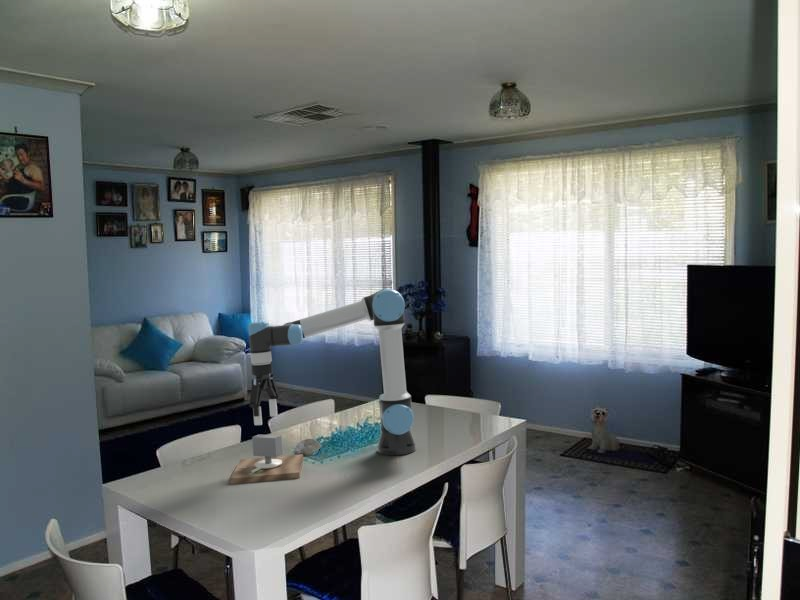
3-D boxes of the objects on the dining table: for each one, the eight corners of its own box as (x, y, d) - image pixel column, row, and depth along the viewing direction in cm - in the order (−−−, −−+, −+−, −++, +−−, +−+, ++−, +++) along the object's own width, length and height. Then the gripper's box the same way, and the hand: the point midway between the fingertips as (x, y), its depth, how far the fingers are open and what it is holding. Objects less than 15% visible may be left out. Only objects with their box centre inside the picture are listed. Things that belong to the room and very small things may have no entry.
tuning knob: (265, 460, 242) (263, 432, 241) (287, 461, 238) (285, 433, 238) (241, 472, 228) (238, 442, 228) (264, 473, 224) (262, 443, 224)
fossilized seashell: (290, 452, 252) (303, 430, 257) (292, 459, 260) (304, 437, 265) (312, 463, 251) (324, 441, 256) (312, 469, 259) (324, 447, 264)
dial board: (303, 459, 248) (303, 453, 248) (299, 477, 224) (299, 471, 224) (241, 464, 246) (240, 459, 246) (230, 484, 222) (230, 477, 222)
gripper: (266, 359, 247) (270, 413, 248) (236, 369, 223) (241, 428, 223) (284, 358, 245) (288, 412, 246) (256, 368, 221) (261, 428, 222)
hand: (266, 420), depth 235 cm, fingers open, 13 cm apart
